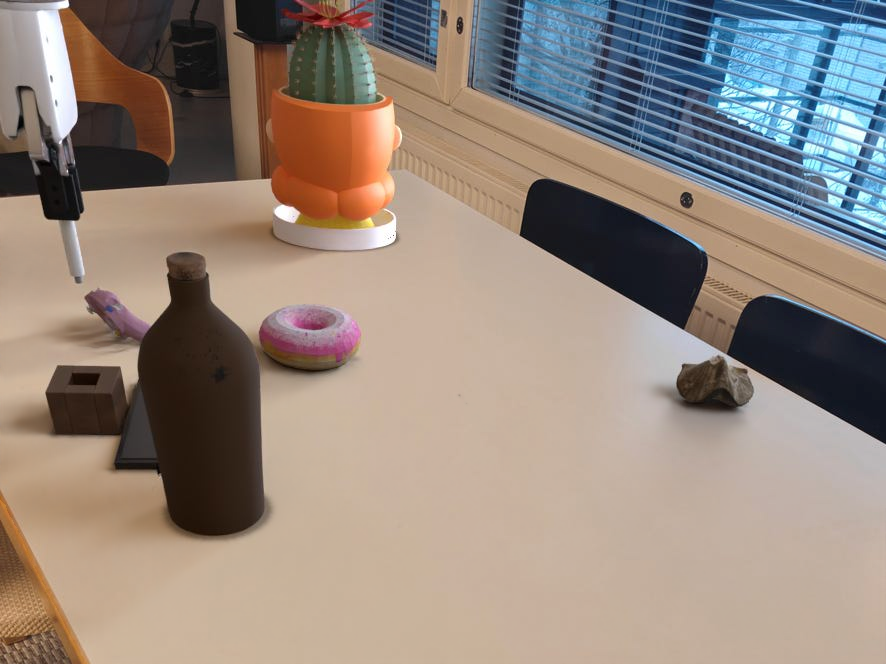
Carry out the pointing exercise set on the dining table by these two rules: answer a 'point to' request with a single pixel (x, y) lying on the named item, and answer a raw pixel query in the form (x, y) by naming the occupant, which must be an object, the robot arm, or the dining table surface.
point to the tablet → (136, 438)
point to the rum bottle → (203, 407)
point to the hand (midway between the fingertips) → (65, 214)
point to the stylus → (72, 249)
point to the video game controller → (116, 315)
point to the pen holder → (87, 399)
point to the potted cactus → (332, 138)
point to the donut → (310, 336)
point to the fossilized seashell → (715, 382)
